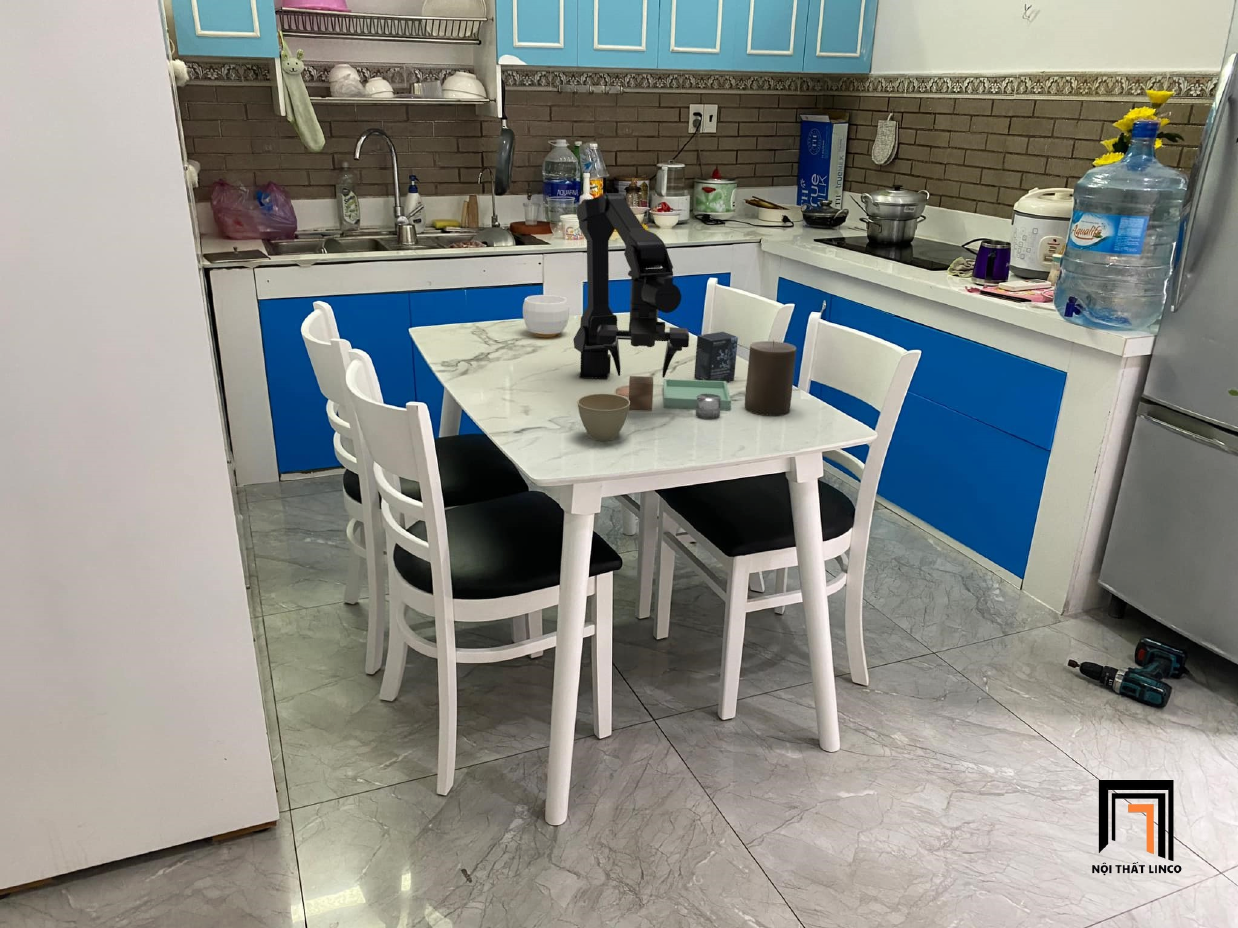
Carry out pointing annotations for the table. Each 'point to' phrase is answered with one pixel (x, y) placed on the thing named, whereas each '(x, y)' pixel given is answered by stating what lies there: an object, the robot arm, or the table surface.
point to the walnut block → (640, 393)
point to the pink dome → (623, 391)
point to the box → (716, 357)
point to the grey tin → (708, 406)
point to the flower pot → (603, 414)
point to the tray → (693, 392)
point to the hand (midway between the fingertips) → (641, 376)
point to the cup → (546, 314)
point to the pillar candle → (770, 378)
